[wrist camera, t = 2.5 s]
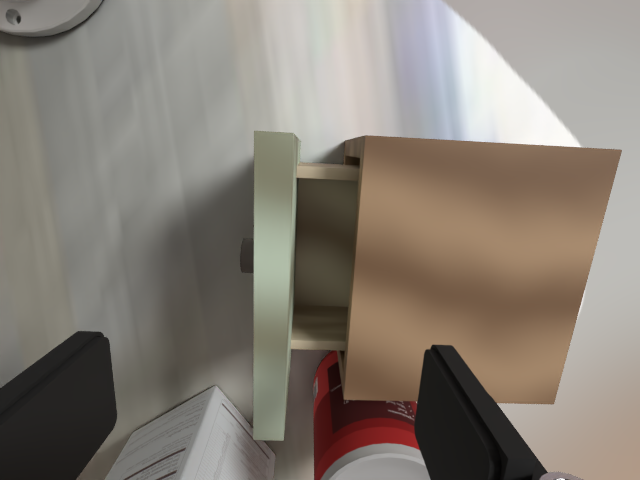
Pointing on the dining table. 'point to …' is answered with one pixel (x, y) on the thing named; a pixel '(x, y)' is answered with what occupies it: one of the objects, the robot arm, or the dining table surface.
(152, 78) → the dining table surface
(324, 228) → the drawer
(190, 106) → the dining table surface
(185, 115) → the dining table surface
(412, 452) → the canned food
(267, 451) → the supplement box
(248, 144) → the dining table surface
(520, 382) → the cabinet
